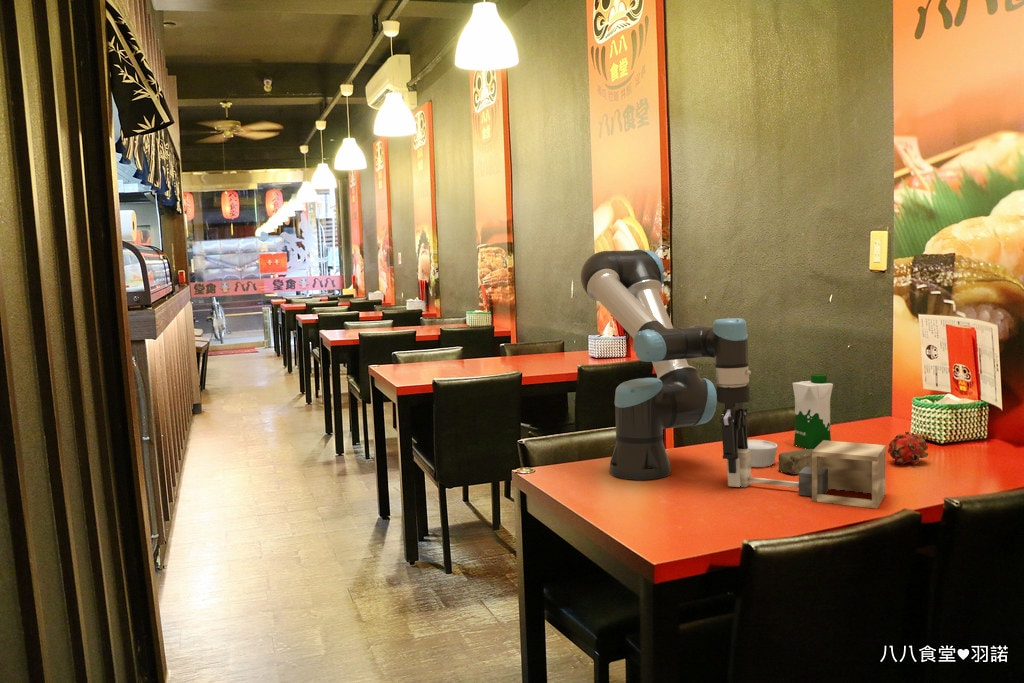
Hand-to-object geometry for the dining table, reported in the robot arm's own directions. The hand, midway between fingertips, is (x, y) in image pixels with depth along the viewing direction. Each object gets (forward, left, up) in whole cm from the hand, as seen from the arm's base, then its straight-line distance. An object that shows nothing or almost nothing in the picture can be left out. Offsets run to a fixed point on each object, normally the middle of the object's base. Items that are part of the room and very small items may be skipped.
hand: (737, 483), depth 191 cm
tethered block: (+9, 0, 0) cm, 9 cm away
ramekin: (-2, +22, -1) cm, 22 cm away
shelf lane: (+24, 0, 0) cm, 24 cm away
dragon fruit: (+32, +37, -1) cm, 49 cm away
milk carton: (+7, +47, -1) cm, 48 cm away
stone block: (+10, +20, -1) cm, 22 cm away
